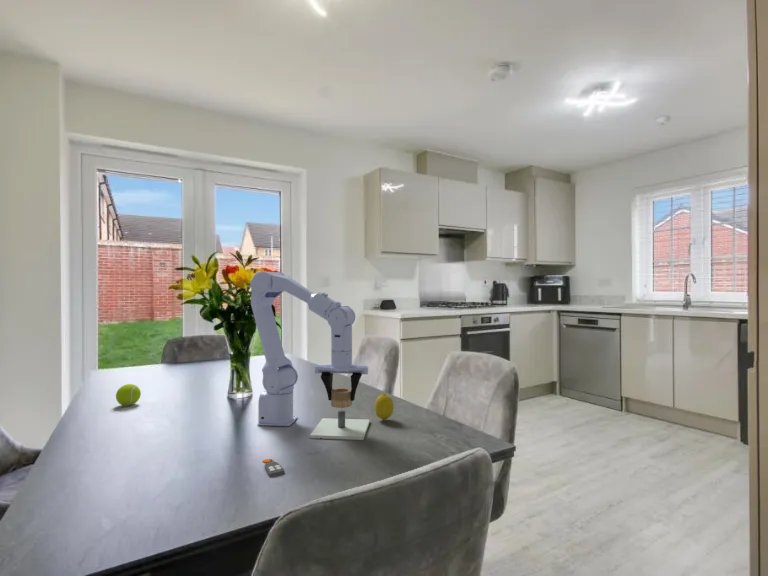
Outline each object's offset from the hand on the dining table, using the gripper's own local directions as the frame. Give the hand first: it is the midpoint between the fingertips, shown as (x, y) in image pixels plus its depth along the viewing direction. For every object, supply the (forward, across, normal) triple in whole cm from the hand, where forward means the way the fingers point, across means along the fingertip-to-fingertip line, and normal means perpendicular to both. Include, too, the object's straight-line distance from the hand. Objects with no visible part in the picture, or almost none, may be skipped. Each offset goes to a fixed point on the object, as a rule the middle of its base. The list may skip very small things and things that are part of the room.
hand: (341, 399), depth 115 cm
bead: (+1, 0, 0) cm, 1 cm away
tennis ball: (+9, -75, +17) cm, 77 cm away
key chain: (+9, -12, -23) cm, 27 cm away
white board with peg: (+8, 0, 0) cm, 8 cm away
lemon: (+8, +11, +9) cm, 17 cm away
